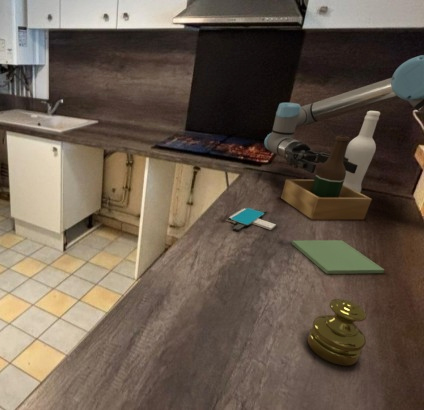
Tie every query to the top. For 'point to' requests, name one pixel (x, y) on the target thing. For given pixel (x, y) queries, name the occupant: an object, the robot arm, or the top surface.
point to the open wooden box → (325, 201)
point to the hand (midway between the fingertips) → (334, 169)
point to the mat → (336, 257)
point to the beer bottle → (331, 171)
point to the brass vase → (338, 333)
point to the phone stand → (249, 219)
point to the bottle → (361, 151)
